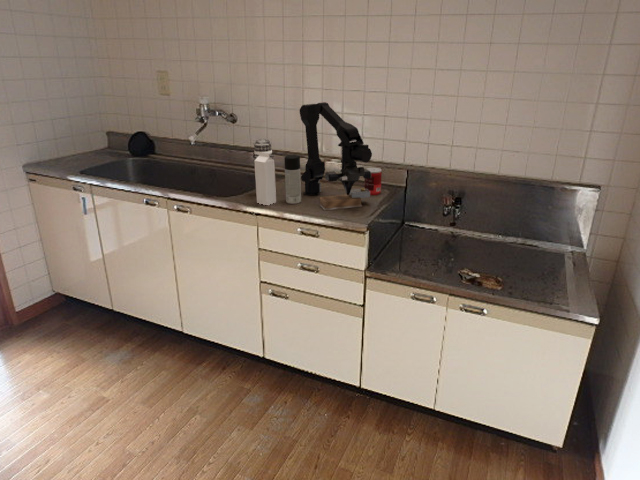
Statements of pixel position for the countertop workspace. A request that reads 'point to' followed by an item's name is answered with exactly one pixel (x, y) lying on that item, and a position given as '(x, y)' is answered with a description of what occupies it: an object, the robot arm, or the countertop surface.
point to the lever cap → (359, 193)
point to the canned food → (374, 181)
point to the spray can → (292, 179)
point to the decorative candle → (262, 148)
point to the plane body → (339, 202)
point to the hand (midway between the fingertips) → (347, 194)
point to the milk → (265, 179)
